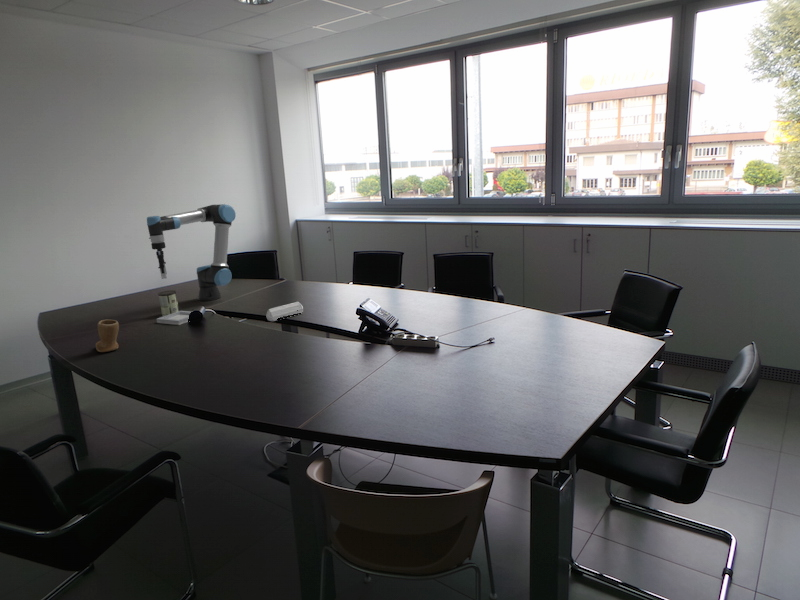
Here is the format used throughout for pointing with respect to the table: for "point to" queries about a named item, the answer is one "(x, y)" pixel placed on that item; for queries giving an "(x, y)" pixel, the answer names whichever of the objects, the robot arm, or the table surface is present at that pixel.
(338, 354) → the table surface
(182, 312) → the plate
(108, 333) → the stone cup
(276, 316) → the crystal
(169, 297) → the coffee can
